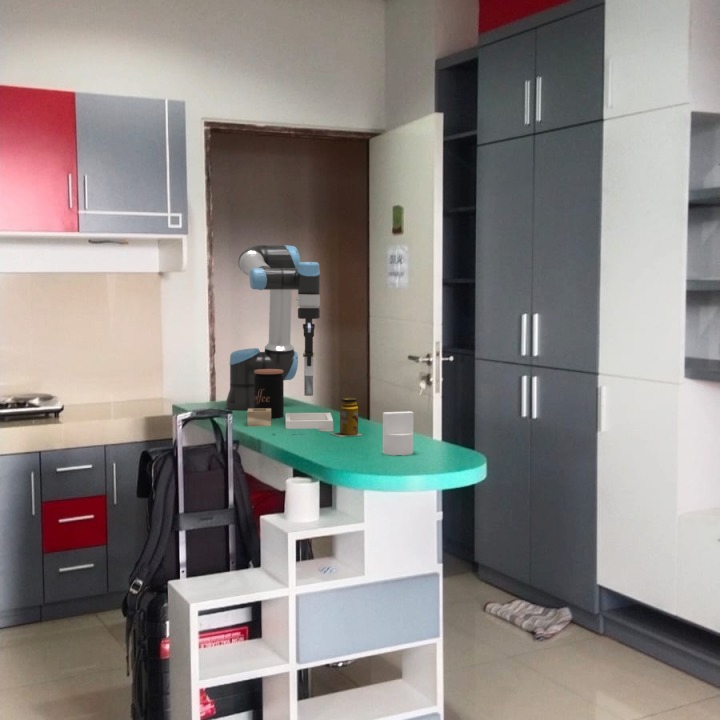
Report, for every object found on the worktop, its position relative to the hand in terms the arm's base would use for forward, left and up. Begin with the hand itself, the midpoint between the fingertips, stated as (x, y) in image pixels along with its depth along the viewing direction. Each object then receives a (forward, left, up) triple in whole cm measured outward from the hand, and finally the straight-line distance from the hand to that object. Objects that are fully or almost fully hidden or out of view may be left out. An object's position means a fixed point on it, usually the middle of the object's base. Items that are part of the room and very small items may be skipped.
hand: (308, 374), depth 328 cm
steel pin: (0, 0, -7) cm, 7 cm away
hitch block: (0, -17, -18) cm, 25 cm away
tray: (0, 0, -18) cm, 18 cm away
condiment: (+17, +12, -18) cm, 28 cm away
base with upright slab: (+51, +25, -18) cm, 60 cm away
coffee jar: (-19, -14, -18) cm, 30 cm away
